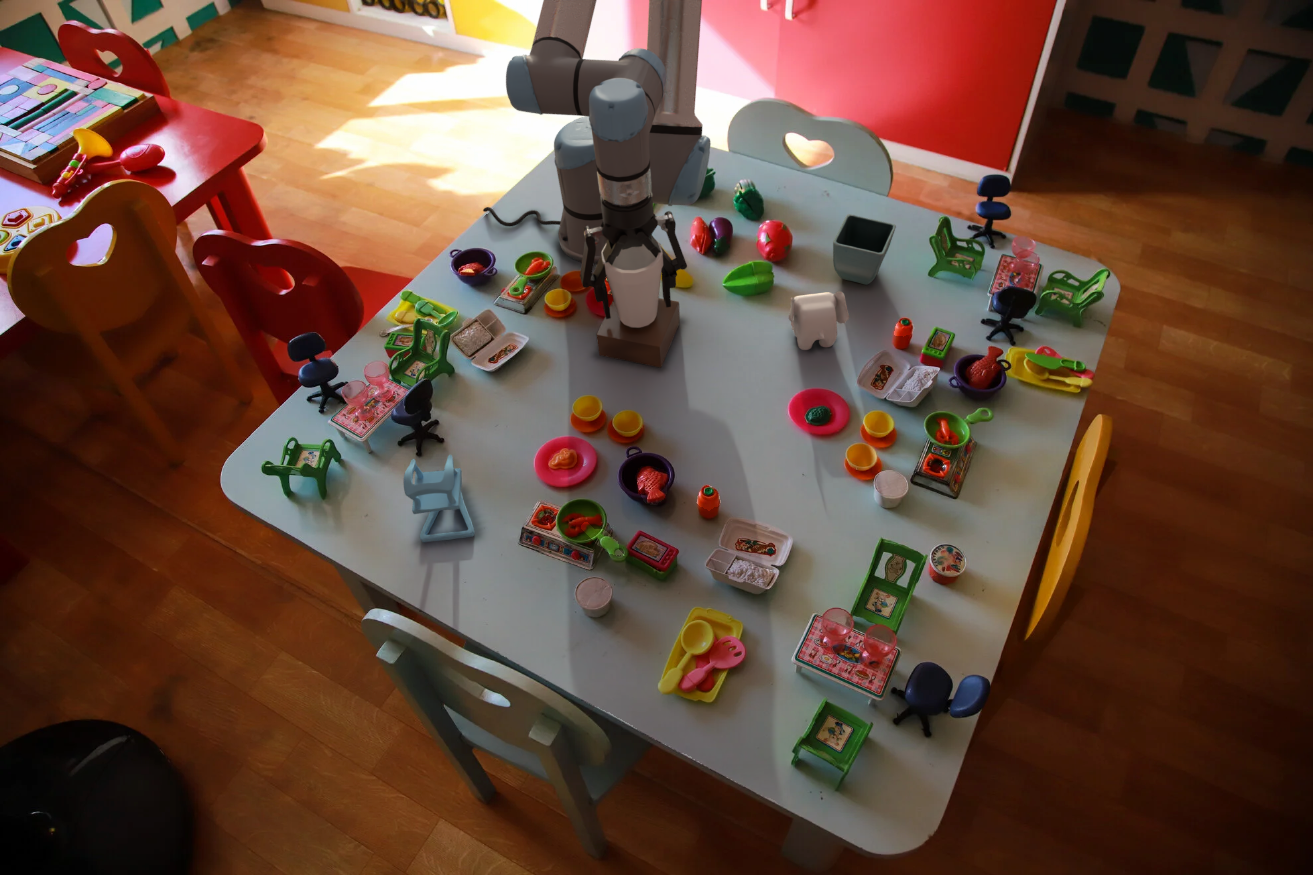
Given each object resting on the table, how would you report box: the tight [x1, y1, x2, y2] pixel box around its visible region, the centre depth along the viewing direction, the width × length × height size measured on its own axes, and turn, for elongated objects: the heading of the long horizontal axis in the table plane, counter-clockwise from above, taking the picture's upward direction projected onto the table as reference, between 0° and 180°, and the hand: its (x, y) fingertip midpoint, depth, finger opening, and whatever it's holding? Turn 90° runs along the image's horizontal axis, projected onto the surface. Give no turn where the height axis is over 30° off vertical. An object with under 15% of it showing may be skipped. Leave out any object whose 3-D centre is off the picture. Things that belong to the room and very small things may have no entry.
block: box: [595, 297, 681, 368], centre depth 139 cm, size 11×11×5 cm
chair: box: [403, 454, 476, 543], centre depth 116 cm, size 8×8×12 cm
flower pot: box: [832, 213, 897, 286], centre depth 144 cm, size 9×9×9 cm
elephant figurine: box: [788, 291, 850, 351], centre depth 136 cm, size 10×12×9 cm
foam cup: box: [601, 238, 663, 328], centre depth 131 cm, size 10×9×13 cm
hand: (637, 307), depth 135 cm, fingers closed on foam cup, 9 cm apart
